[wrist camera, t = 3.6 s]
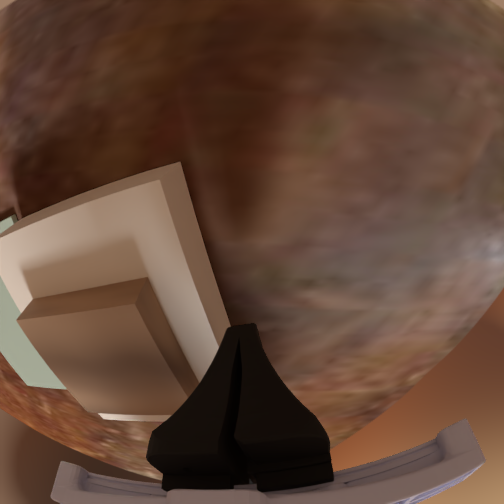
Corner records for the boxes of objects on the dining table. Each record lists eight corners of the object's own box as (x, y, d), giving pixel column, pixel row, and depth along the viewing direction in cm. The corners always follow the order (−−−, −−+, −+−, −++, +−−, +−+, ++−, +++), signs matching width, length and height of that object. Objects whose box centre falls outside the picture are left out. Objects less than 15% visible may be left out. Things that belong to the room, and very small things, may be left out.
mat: (114, 387, 22) (112, 391, 22) (29, 382, 23) (27, 385, 23) (15, 213, 15) (10, 216, 14) (-52, 251, 16) (-55, 254, 15)
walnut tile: (201, 386, 16) (198, 413, 14) (96, 390, 17) (88, 412, 15) (147, 276, 13) (134, 303, 11) (32, 298, 13) (16, 320, 11)
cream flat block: (247, 373, 21) (248, 415, 18) (115, 383, 22) (103, 419, 19) (180, 161, 14) (159, 179, 11) (21, 218, 15) (-15, 244, 11)
